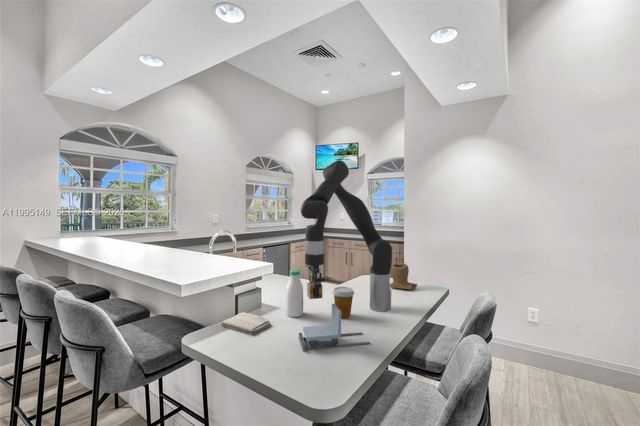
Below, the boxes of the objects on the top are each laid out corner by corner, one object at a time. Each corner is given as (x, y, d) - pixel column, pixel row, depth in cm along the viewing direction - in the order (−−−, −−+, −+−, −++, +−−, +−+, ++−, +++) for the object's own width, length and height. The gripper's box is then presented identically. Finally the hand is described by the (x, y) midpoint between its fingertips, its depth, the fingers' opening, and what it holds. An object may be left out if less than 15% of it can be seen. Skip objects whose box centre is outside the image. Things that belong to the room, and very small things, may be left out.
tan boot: (386, 289, 176) (387, 264, 175) (392, 284, 186) (392, 260, 186) (413, 293, 169) (413, 267, 168) (417, 288, 179) (417, 263, 179)
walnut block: (319, 294, 120) (319, 281, 119) (322, 298, 115) (322, 285, 115) (307, 295, 118) (307, 282, 118) (309, 299, 114) (309, 286, 113)
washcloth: (253, 337, 113) (253, 329, 113) (219, 327, 122) (219, 319, 121) (272, 326, 123) (273, 318, 123) (240, 317, 132) (240, 310, 132)
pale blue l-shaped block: (334, 333, 113) (334, 303, 113) (340, 344, 105) (341, 311, 104) (302, 336, 111) (303, 305, 110) (307, 347, 102) (307, 314, 102)
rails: (361, 332, 116) (361, 327, 116) (370, 344, 106) (371, 339, 106) (298, 338, 111) (298, 332, 111) (302, 351, 101) (302, 345, 101)
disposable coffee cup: (356, 314, 136) (356, 288, 135) (349, 321, 127) (349, 293, 127) (337, 310, 140) (337, 285, 139) (329, 318, 131) (329, 290, 131)
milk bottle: (300, 318, 130) (300, 272, 130) (283, 316, 132) (283, 271, 131) (304, 312, 138) (305, 269, 137) (288, 310, 139) (289, 268, 139)
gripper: (302, 249, 122) (302, 290, 123) (308, 255, 108) (308, 302, 109) (319, 248, 124) (319, 289, 124) (328, 254, 110) (328, 300, 110)
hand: (314, 295), depth 117 cm, fingers closed on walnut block, 5 cm apart
